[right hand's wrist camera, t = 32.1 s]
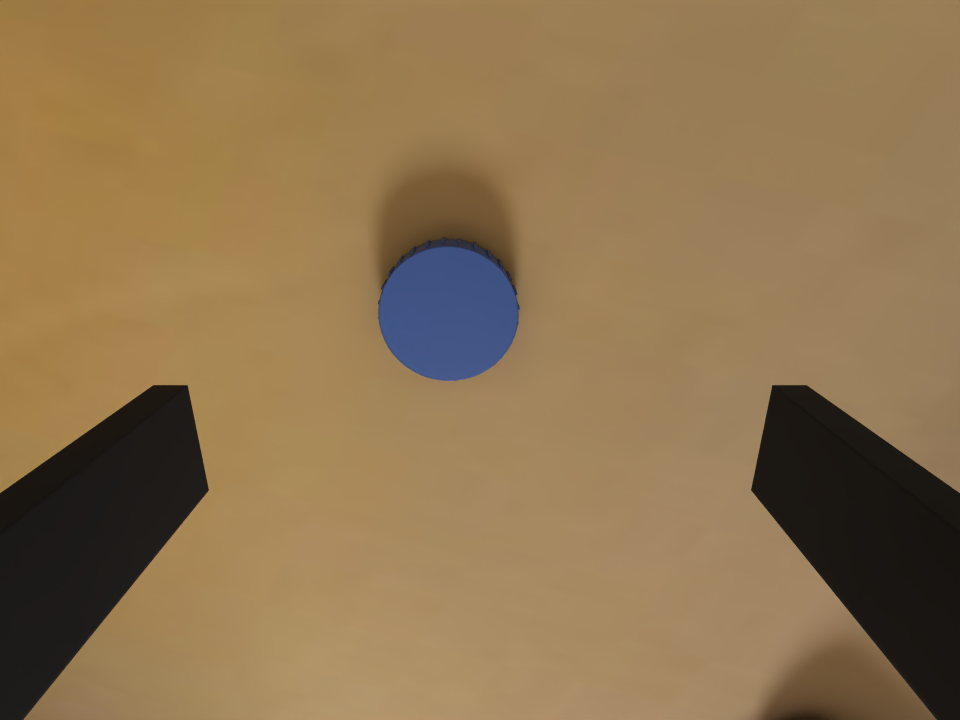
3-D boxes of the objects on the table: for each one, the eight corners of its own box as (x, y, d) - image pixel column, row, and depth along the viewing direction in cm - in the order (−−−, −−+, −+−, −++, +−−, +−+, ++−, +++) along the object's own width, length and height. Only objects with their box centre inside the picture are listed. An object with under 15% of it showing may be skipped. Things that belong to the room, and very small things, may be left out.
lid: (382, 234, 22) (375, 241, 20) (520, 240, 22) (525, 247, 20) (383, 363, 24) (377, 380, 22) (511, 368, 24) (515, 385, 22)
